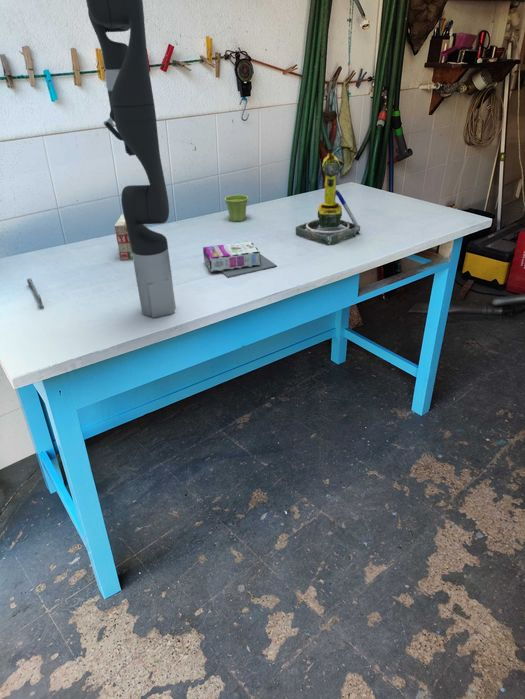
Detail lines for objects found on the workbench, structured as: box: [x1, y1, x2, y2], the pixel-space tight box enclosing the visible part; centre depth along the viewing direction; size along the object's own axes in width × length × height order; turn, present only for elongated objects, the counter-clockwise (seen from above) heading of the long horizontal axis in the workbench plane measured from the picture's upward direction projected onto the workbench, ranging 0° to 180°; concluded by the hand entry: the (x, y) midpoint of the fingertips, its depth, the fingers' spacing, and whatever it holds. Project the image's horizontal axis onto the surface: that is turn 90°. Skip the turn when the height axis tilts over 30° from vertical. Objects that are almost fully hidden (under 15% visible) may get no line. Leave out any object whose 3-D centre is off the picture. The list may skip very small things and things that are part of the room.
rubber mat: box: [220, 253, 278, 279], centre depth 171 cm, size 20×17×1 cm
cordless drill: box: [295, 153, 361, 246], centre depth 184 cm, size 18×19×28 cm
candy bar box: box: [202, 240, 261, 273], centre depth 167 cm, size 11×5×16 cm
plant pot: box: [224, 194, 249, 222], centre depth 208 cm, size 9×9×9 cm
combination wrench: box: [26, 278, 44, 309], centre depth 152 cm, size 4×1×20 cm
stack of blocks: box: [114, 213, 147, 261], centre depth 181 cm, size 21×6×12 cm, turn 2°
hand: (131, 154), depth 150 cm, fingers closed
